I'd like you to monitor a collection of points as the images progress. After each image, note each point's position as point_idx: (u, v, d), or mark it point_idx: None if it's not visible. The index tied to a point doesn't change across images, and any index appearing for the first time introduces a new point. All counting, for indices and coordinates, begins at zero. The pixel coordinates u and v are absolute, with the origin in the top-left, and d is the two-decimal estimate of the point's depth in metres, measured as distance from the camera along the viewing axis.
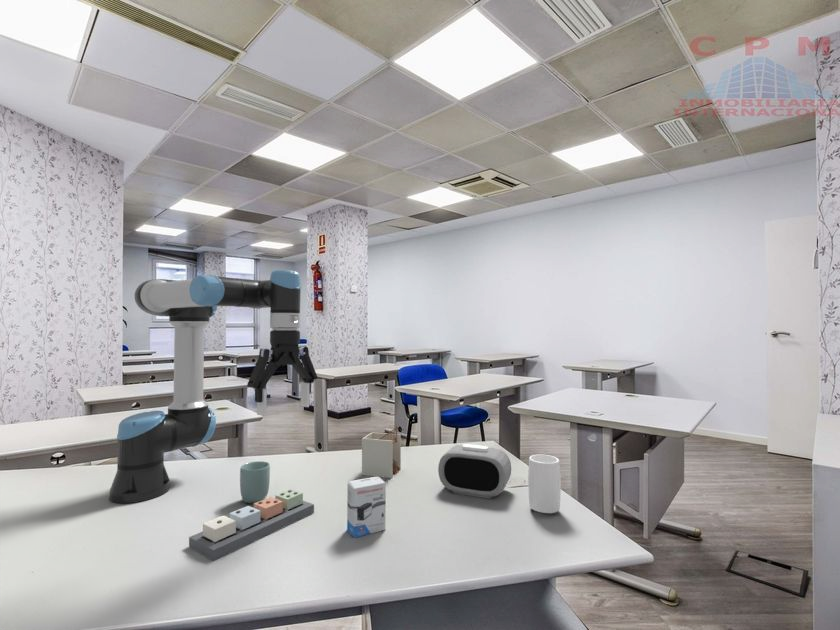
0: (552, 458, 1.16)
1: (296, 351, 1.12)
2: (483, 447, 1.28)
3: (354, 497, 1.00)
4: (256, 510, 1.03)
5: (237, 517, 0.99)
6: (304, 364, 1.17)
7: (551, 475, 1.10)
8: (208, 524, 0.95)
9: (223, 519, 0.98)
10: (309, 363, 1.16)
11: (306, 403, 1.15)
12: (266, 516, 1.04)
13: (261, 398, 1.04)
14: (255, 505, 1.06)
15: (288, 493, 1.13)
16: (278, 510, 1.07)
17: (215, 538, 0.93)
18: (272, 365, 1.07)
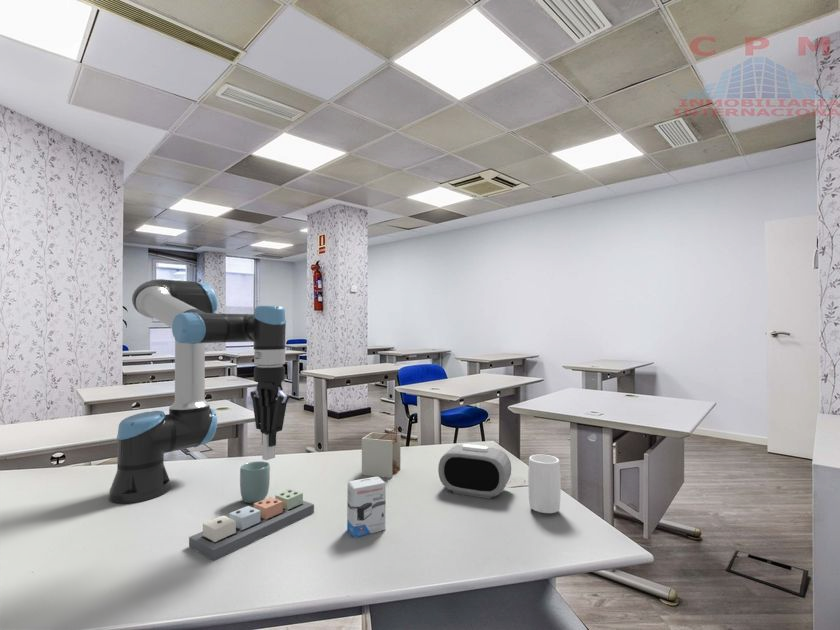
0: (552, 458, 1.16)
1: (272, 389, 1.06)
2: (483, 447, 1.28)
3: (354, 497, 1.00)
4: (256, 510, 1.03)
5: (237, 517, 0.99)
6: None
7: (551, 475, 1.10)
8: (208, 524, 0.95)
9: (223, 519, 0.98)
10: (275, 412, 1.05)
11: None
12: (266, 516, 1.04)
13: None
14: (255, 505, 1.06)
15: (288, 493, 1.13)
16: (278, 510, 1.07)
17: (215, 538, 0.93)
18: None
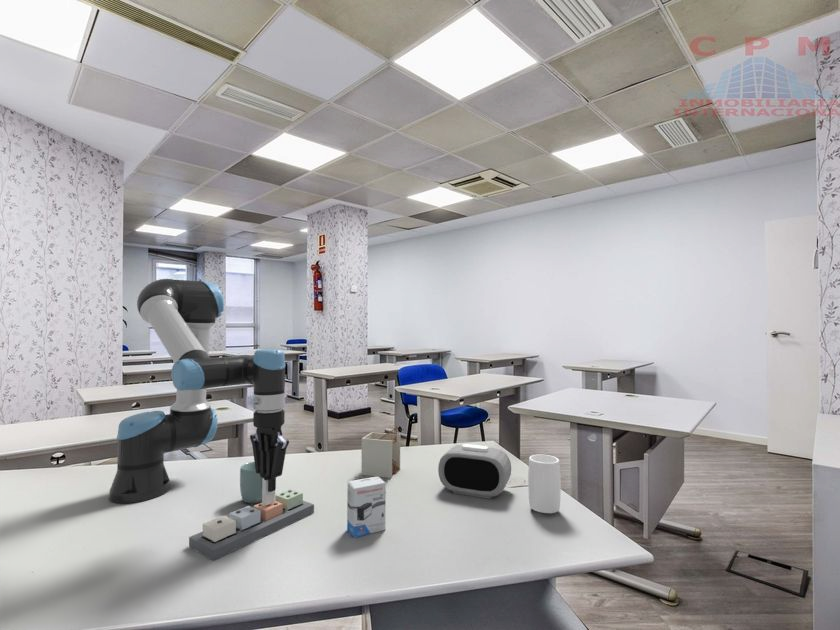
0: (552, 458, 1.16)
1: (272, 434, 1.05)
2: (483, 447, 1.28)
3: (354, 497, 1.00)
4: (256, 510, 1.03)
5: (237, 517, 0.99)
6: None
7: (551, 475, 1.11)
8: (208, 524, 0.95)
9: (223, 519, 0.98)
10: (274, 458, 1.04)
11: None
12: (266, 518, 1.04)
13: None
14: (255, 507, 1.06)
15: (288, 493, 1.13)
16: (278, 513, 1.07)
17: (215, 538, 0.93)
18: None
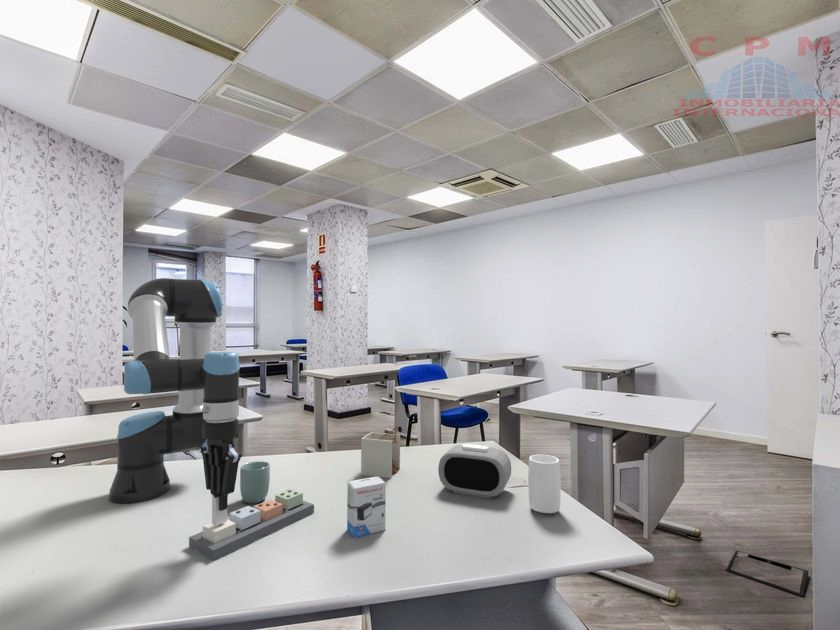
0: (552, 458, 1.16)
1: (223, 447, 0.94)
2: (483, 447, 1.28)
3: (354, 497, 1.00)
4: (256, 510, 1.03)
5: (237, 517, 0.99)
6: None
7: (551, 475, 1.10)
8: (208, 527, 0.95)
9: None
10: (225, 473, 0.94)
11: None
12: (266, 519, 1.04)
13: None
14: (255, 508, 1.06)
15: (288, 493, 1.13)
16: (278, 513, 1.07)
17: (215, 541, 0.93)
18: None
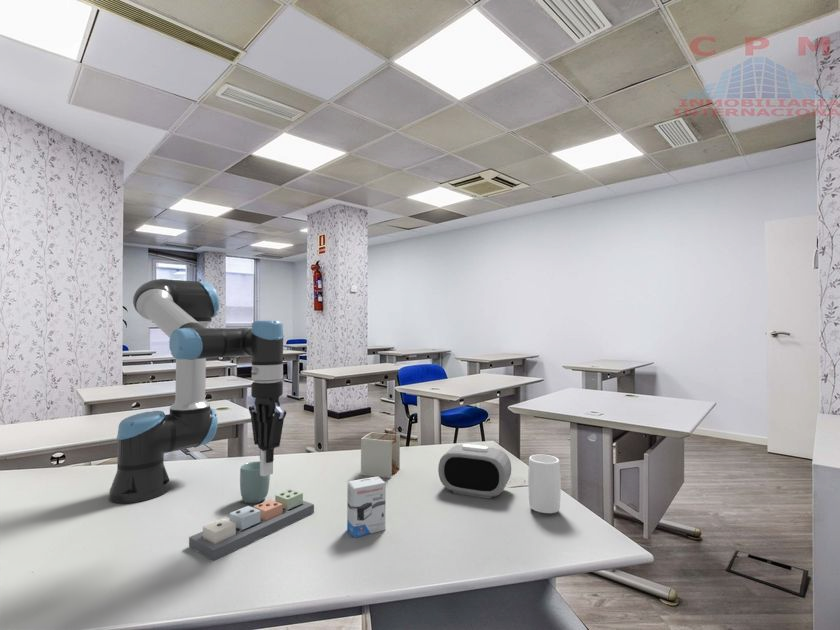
0: (552, 458, 1.16)
1: (269, 405, 1.05)
2: (483, 447, 1.28)
3: (354, 497, 1.00)
4: (256, 510, 1.03)
5: (237, 517, 0.99)
6: None
7: (551, 475, 1.10)
8: (208, 527, 0.95)
9: (223, 522, 0.98)
10: (272, 428, 1.04)
11: None
12: (266, 519, 1.04)
13: None
14: (255, 508, 1.06)
15: (288, 493, 1.13)
16: (278, 513, 1.07)
17: (215, 541, 0.93)
18: None
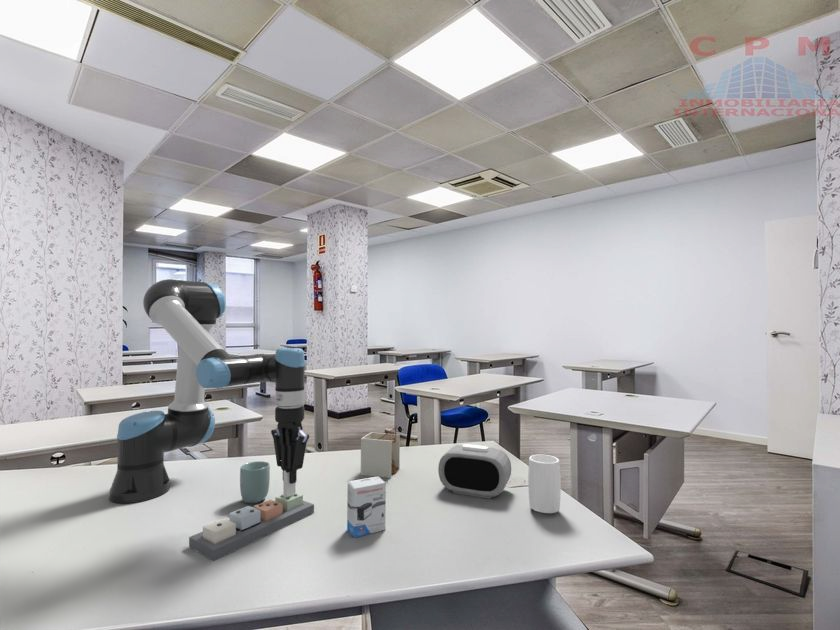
0: (552, 458, 1.16)
1: (293, 429, 1.11)
2: (483, 447, 1.28)
3: (354, 497, 1.00)
4: (256, 510, 1.03)
5: (237, 517, 0.99)
6: None
7: (551, 475, 1.10)
8: (208, 527, 0.95)
9: (223, 522, 0.98)
10: (296, 451, 1.10)
11: None
12: (266, 519, 1.04)
13: None
14: (255, 508, 1.06)
15: None
16: (278, 513, 1.07)
17: (215, 541, 0.93)
18: None
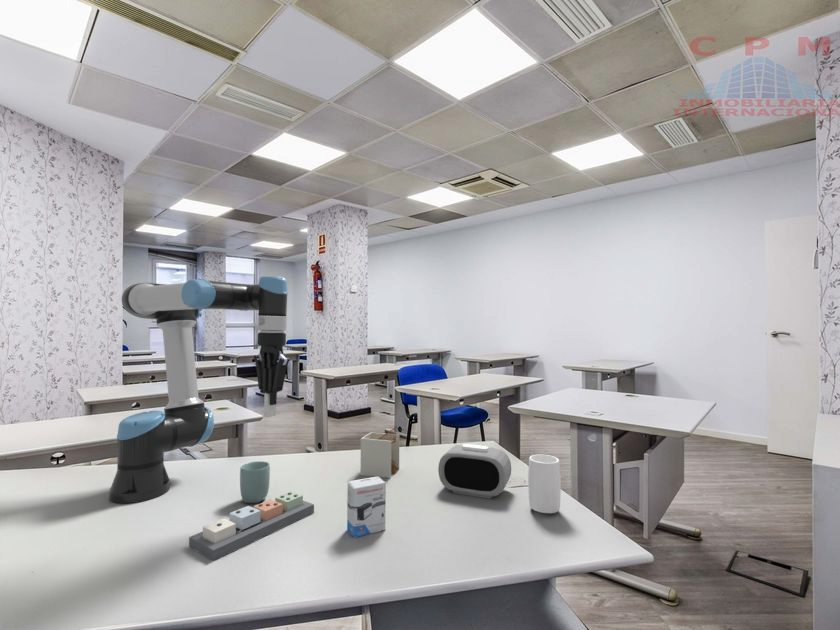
0: (552, 458, 1.16)
1: (274, 352, 1.16)
2: (483, 447, 1.28)
3: (354, 497, 1.00)
4: (256, 510, 1.03)
5: (237, 517, 0.99)
6: None
7: (551, 475, 1.10)
8: (208, 527, 0.95)
9: (223, 522, 0.98)
10: (276, 373, 1.15)
11: None
12: (266, 519, 1.04)
13: None
14: (255, 508, 1.06)
15: (288, 495, 1.13)
16: (278, 513, 1.07)
17: (215, 541, 0.93)
18: None
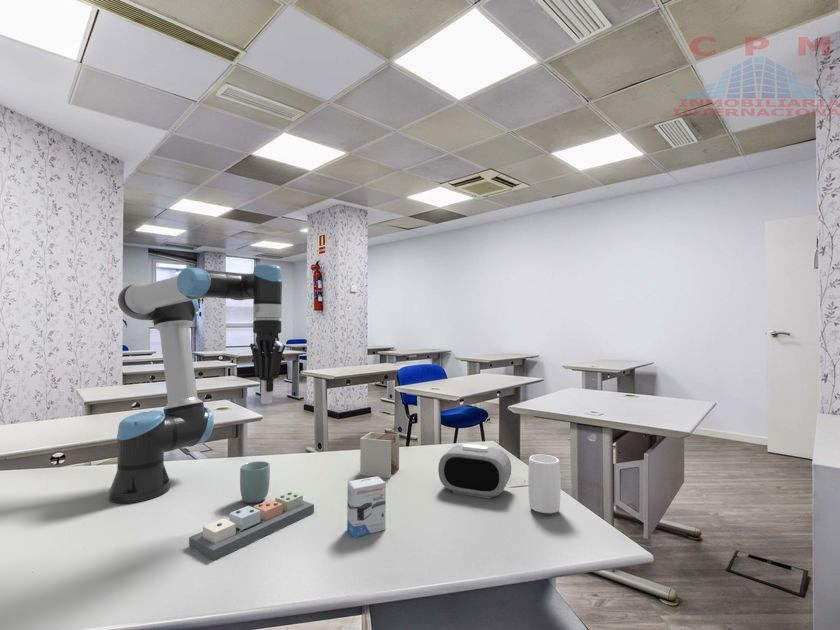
0: (552, 458, 1.16)
1: (270, 339, 1.17)
2: (483, 447, 1.28)
3: (354, 497, 1.00)
4: (256, 510, 1.03)
5: (237, 517, 0.99)
6: None
7: (551, 475, 1.10)
8: (208, 527, 0.95)
9: (223, 522, 0.98)
10: (272, 360, 1.16)
11: None
12: (266, 519, 1.04)
13: None
14: (255, 508, 1.06)
15: (288, 495, 1.13)
16: (278, 513, 1.07)
17: (215, 541, 0.93)
18: None
